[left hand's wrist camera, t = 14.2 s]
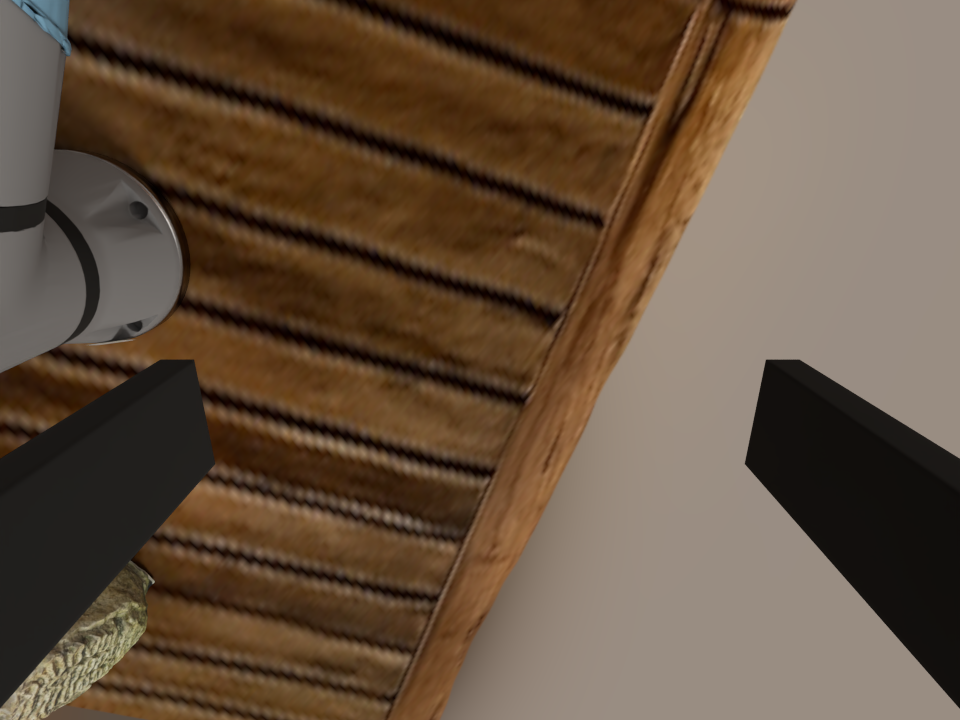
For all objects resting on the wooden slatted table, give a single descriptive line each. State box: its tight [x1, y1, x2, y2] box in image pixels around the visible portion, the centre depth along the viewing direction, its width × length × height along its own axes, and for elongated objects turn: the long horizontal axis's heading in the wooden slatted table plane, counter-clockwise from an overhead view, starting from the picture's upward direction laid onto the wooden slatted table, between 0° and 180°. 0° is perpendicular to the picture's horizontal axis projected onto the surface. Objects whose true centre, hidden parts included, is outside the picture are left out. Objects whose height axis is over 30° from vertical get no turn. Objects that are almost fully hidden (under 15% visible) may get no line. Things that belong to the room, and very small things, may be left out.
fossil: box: [0, 560, 155, 720], centre depth 48 cm, size 9×18×15 cm, turn 65°
